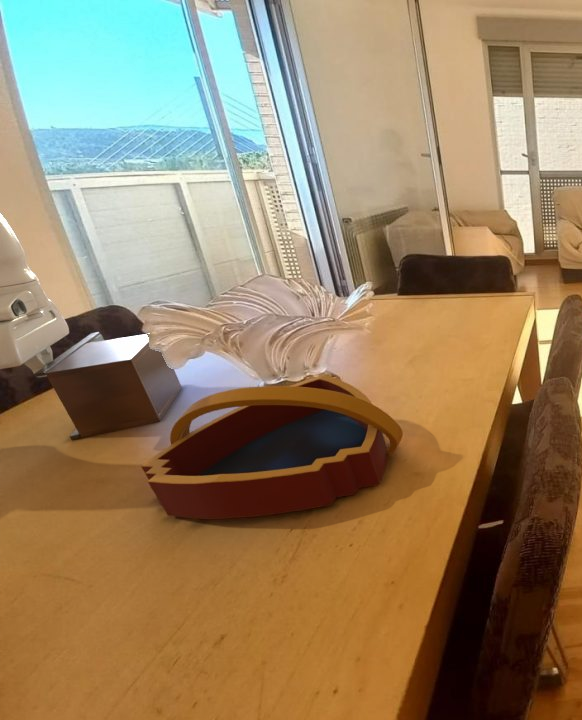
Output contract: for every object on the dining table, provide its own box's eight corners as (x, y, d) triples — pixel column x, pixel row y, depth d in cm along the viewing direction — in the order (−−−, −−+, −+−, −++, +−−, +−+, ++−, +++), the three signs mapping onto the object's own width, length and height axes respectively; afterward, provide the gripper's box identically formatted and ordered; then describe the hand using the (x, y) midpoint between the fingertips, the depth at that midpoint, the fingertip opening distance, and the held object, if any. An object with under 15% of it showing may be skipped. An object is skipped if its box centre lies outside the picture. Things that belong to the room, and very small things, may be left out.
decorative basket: (114, 539, 65) (43, 458, 57) (254, 409, 90) (217, 340, 82) (359, 538, 65) (321, 457, 57) (432, 407, 89) (412, 338, 81)
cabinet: (71, 440, 85) (33, 373, 80) (119, 388, 105) (91, 332, 100) (160, 421, 91) (130, 358, 86) (189, 375, 111) (167, 322, 105)
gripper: (13, 290, 88) (49, 359, 93) (-59, 318, 71) (-11, 400, 77) (60, 285, 91) (93, 352, 96) (2, 312, 74) (45, 391, 79)
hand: (46, 374), depth 86 cm, fingers closed
